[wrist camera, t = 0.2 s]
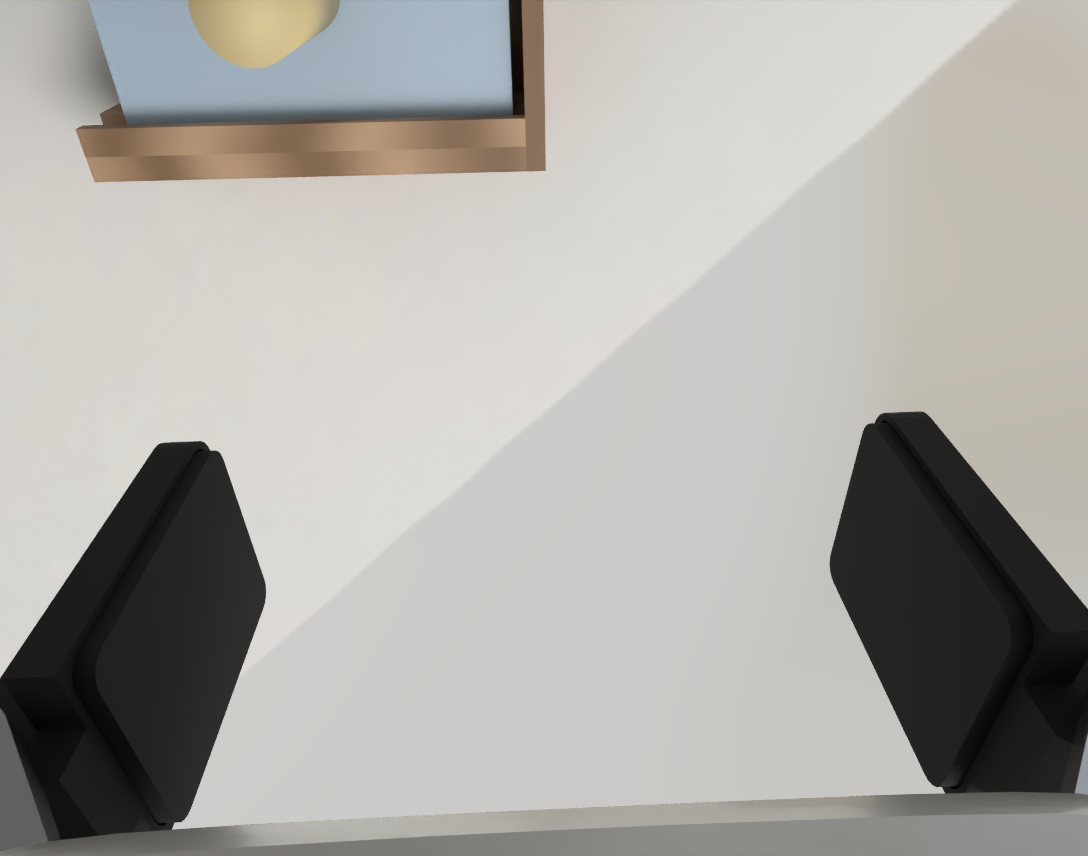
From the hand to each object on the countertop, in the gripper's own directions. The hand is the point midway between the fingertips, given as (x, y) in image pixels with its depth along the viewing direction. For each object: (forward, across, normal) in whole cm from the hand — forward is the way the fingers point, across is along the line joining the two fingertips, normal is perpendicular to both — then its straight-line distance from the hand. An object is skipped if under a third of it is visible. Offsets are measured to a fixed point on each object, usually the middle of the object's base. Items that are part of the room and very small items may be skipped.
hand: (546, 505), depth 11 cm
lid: (+26, +8, -5) cm, 27 cm away
